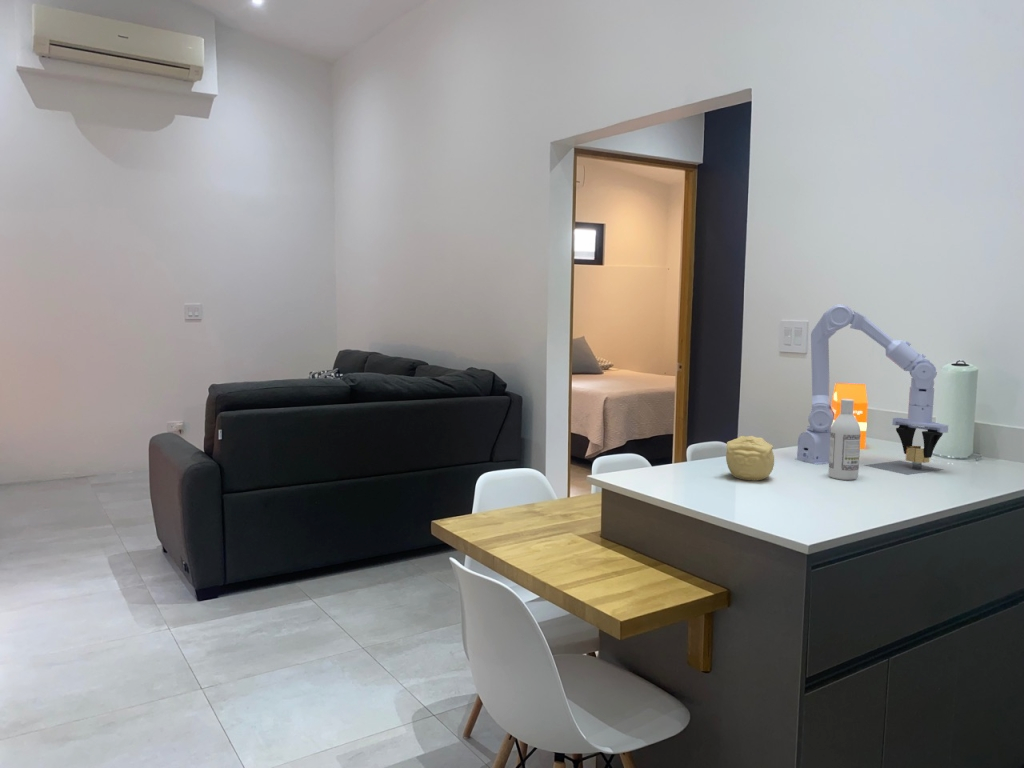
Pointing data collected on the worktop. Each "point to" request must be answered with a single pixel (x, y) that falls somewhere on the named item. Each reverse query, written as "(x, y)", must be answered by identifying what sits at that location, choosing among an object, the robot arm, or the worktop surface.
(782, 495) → the worktop surface
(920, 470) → the mat
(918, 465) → the piston post
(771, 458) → the sculpture
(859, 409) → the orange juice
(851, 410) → the bath foam
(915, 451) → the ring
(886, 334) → the robot arm
